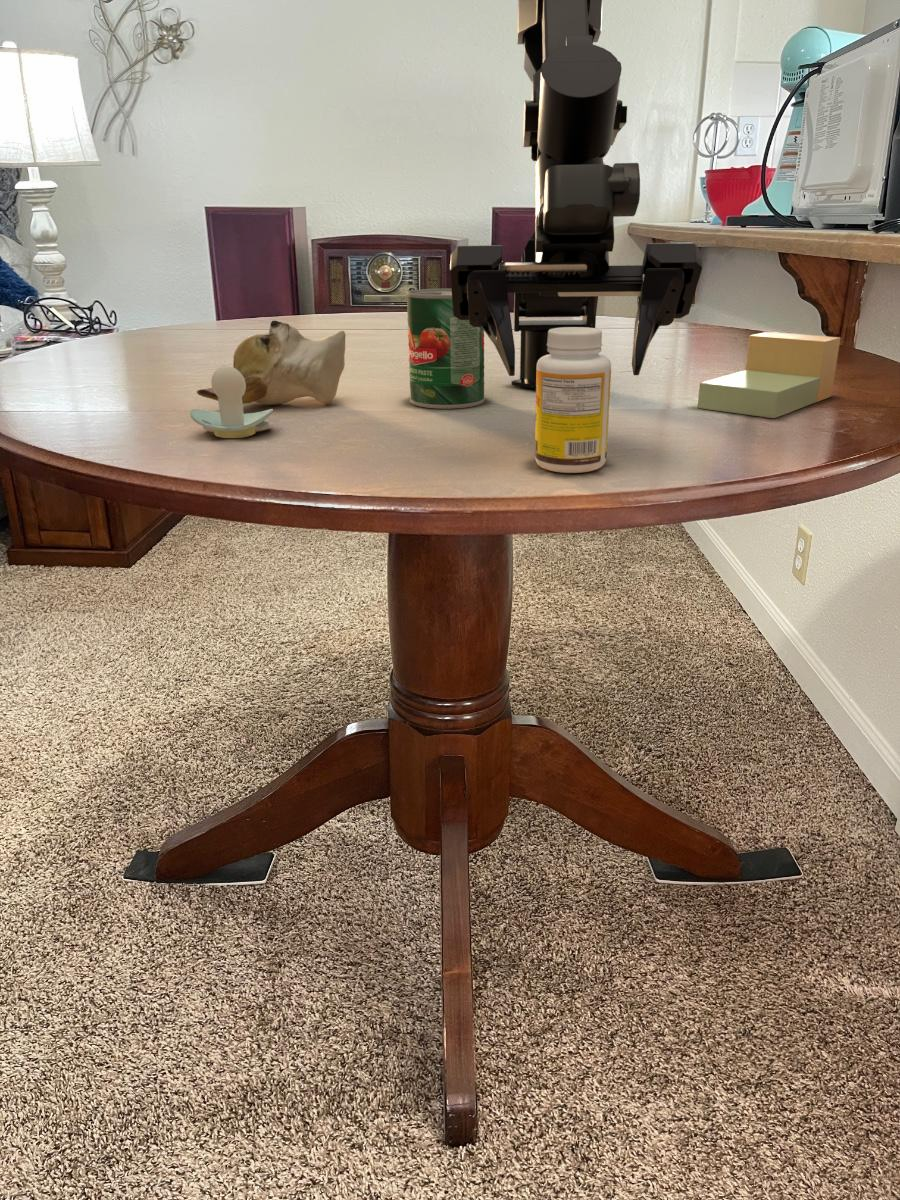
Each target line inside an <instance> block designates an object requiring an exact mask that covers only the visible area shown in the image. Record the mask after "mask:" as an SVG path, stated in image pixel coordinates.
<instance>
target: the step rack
mask: <svg viewBox="0 0 900 1200" xmlns="http://www.w3.org/2000/svg"><path fill="white" fill-rule="evenodd" d="M840 343H841V337H840V336H828V335H816V334H815V335H813V334H801V333H787V332H772V331H763V332H759V333H755V334H751V335H749V336H748V344H747V352H746V361H745V369H742V370H740V371H736V372H733V373H729V374H726V375H722V376H720V377H716V378H712V379H708V380H704V381H702V382H699V388H698V396H697V397H698V398H697V400H698V401H697V409H700V410H701V409H702V410H709V411H716V412H724V413H731V414H738V415H746V416H752V417H753V416H754V417H758V418H759V417H760V418H767V419H777V418H779V417H782V416H784V415H787V414H789V413H792V412H794V411H797V410H799V409H802V408H805V407H807V406H810V405H813V404H815V403H818V402H821V401H823V400H826V399H828V398H831V397H832V395H833V388H834V383H835V376H836V369H837V363H838V357H839V351H840Z"/></svg>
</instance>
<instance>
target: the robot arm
mask: <svg viewBox="0 0 900 1200" xmlns="http://www.w3.org/2000/svg"><path fill="white" fill-rule="evenodd" d="M602 20H603V0H517V29H516V30H517V35H516V37H517V38H516V39H517V40H516V41H517V42H516V43H517V45H523V70H524V71H525V73H526V74H527V76H528V78H529V81H530V82H531V83H532V84H531V87H532V88H531V100H529V99H527V100H526V99H525V100H523V122H522V123H523V125H522V127H523V129H522V130H523V132H522V136H523V137H522V146H523V148H530V159H531V160H532V161H533V162H535V167H534V178H535V179H534V219H535V220H534V221H535V222H534V226H535V227H534V232H533V234H532V235H531V237H530V239H529V240H528V241H527V243H526V244H525V247H524V249H523V251H522V253H521V261H515V262H514V261H512V262H509V261H507V262H505V261H503V245H502V244H500V245H499V244H496V245H495V244H493V245H490V244H487V245H486V244H485V245H458V246H457V247H456V248H455V249H454V250H453V251H452V252H451V253H450V264H449V275H450V287H451V289H452V303H453V316H455V317H456V318H458V319H459V320H469V323H470V325H471V326H473V327H481V328H483V330H484V334H486V335H487V337H488V338H489V340H490V341H491V342H492V344H493V345H494V347H495V349H496V351H497V353H498V355H499V357H500V359H501V361H502V364H503V365H504V368H505V370H506V372H507V374H508V376H509V377H514V376H515V374H516V348H515V347H516V346H515V340H514V339H515V338H514V333H519V332H520V348H519V349H520V350H519V351H520V352H519V353H520V354H519V360H520V361H519V379H514V380H511V381H510V385H511V386H514V387H521V388H528V389H535V390H536V368H537V362H538V360H539V359H540V358H541V357H543V356H545V355H548V354H550V353H549V352H548V351H547V348H548V346H547V340H548V331H549V330H550V329H553V328H562V327H588V328H596V324H597V309H598V303H599V302H598V301H599V297H636V298H637V299H636V300H637V303H636V304H637V310H636V314H635V319H634V329H633V341H632V342H633V343H632V355H631V367H632V374H633V376H640V373H641V370H642V367H643V364H644V361H645V358H646V356H647V355H646V354H647V353H648V349H649V346H650V344H651V342H652V340H653V339H654V337H655V335H656V333H657V332H658V330H659V329H660V327H667V326H670V325H671V324H673V323H674V321H675V319H682V318H684V317H685V316H688V315H689V314H690V312H691V309H692V305H693V301H694V298H695V294H696V291H697V287H698V284H699V281H700V277H701V274H702V271H703V260H702V250H701V249H700V248H699V247H698V246H697V244H696V243H695V242H650V243H649V242H648V243H646V244H645V250H644V254H643V260H642V263H641V265H640V264H638V265H636V264H633V265H629V264H628V265H610V255H609V254H610V253H612V252H613V251H614V245H615V226H614V224H615V222H614V218H615V217H618V218H619V217H634V216H636V213H637V211H638V207H639V204H640V197H641V174H640V165H639V162H616V163H614V164H613V165H612V166H611V165H609V164H606V161H605V157H606V155H608V153H609V151H610V149H611V147H612V146H613V145H614V143H615V141H616V139H617V136H618V133H619V132H620V131H622V129H623V128H624V126H625V125H626V124H627V123H628V122H627V121H628V119H627V118H628V105H623V100H621V99H619V91H620V84H621V83H620V82H621V76H622V68H623V67H622V63H621V61H619V60H618V58H617V57H616V56H615V55H614V54H613V53H612V52H611V51H609V50H608V49H606V48H604V47H601V46H598V45H596V44H594V43H598V42H599V39H600V36H601V34H602V22H603V21H602ZM509 294H514V297H513V302H514V303H513V325H512V317H511V310H510V309H511V308H510V305H509V304H510V302H509ZM581 317H582V319H563V320H562V319H556V320H555V319H554V320H551V319H549V320H547V319H546V320H545V319H544V320H543V319H542V320H541V319H540V320H520V318H581Z"/></svg>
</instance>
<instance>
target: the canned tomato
mask: <svg viewBox="0 0 900 1200" xmlns="http://www.w3.org/2000/svg"><path fill="white" fill-rule="evenodd" d="M405 294H406V302H407V303H406V304H407V305H406V306H407V309H406V312H407V332H408V333H407V338H408V342H407V343H408V344H407V345H408V363H409V367H408V369H409V370H408V371H409V393H410V394H409V395H410V397H409V402H410V403H411V405H414V406H416V407H420V408H427V409H439V410H440V409H442V410H448V409H449V410H451V409H465V408H466V409H467V408H472V407H477V406H480V405H482V404H484V403H485V401H486V400H485V399H486V398H485V331H484V330H483V328H481V327H473V326H471V325H470V323H469V320H459V319H458V318H456V317H455V316H453V303H452V289H451V288H447V287H446V288H422V289H421V288H420V289H413V290H408V291H406V292H405Z"/></svg>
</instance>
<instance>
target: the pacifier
mask: <svg viewBox="0 0 900 1200" xmlns="http://www.w3.org/2000/svg"><path fill="white" fill-rule="evenodd" d="M210 384H211V388H212V389H213V391H214V393H215V394H216V395H217V396H218V401H217V402H218V411H214V410H207V409H199V408H198V409H190V410H189V416H190V418H191V420H192V421H194V422H195V423H196V424H197V425H199V426H201V427H202V428H203V429H204V430H205V431H207V432H210V433H211V432H212V433H213V435H214V436H215V437H217V438H221V439H241V438H247V437H251V436H253V435H255V434H256V432H262V431H266V430H269V429H271V428H273V426H274V423H273V422H271V420H267V419H269V418H270V416H271V415H272V414H273V412H274V409H273V408H269V409H266V410H262V411H256V412H250V413H244V404H243V403H242V396H243V395H244V393H245V390H246V383H245V379H244V377H243V376H242V374H241V373H240V372H239V371H238V370H237V369H235V368H234V367H233V366H230V365H221V366H219V367H217V368H216V369H214V371H213V373H212V375H211V379H210Z"/></svg>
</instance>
